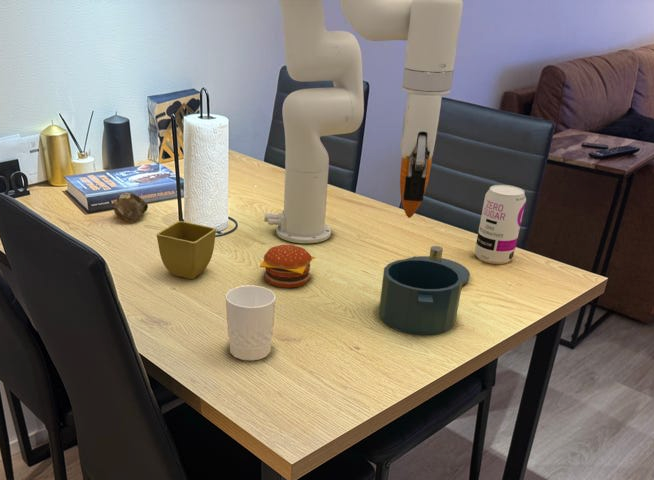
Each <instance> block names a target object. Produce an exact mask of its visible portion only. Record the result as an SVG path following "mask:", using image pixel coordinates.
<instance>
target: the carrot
mask: <svg viewBox="0 0 654 480" xmlns="http://www.w3.org/2000/svg"><path fill="white" fill-rule="evenodd" d="M417 142H418V138H417ZM413 157H416V153H413ZM409 158H410V156H406V158H403V157H402V156H401V161H400V164H401V165H400V173H399V192H400V193H399V194H400V201H401V205H402V208H403V210H404V213H405V215H406V217H407V218H408V219H410V218H411V217H413V216H414V215H415V214H416V212H417V210H418V208H419V207H420V206H421V203H422V201H408V200H404V189H405V181H406V176H408V170H409V161H410V160H409ZM415 162H416V161H413V164H414V163H415ZM432 164H433V157H432V158H430V159H429V160H428V158H427V166H426V175H425V177H426V182H425V189H424V194H425V193H426V190H427V187H428V183H429V179H430V173H431V168H432Z"/></svg>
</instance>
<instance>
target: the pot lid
mask: <svg viewBox="0 0 654 480" xmlns="http://www.w3.org/2000/svg"><path fill="white" fill-rule="evenodd" d="M443 250H444V248H443V247H442V246H438V245H433V246H431V247H430V249H429V255H427V256H426V255H425V256H424V255H421V256H418V257H426V260H433V261H437V262H440V263H444V264H447V265H449V266H451V267H453V268H455V269H456V270H458V271H459V272H460V273H461V274H462V277H463V284H462V286H463V285H465V284H467V283H468V281H469V280H470V277H471V273H470V271H469V269H468V268H467V267H466V266H465V265H463V264H461V263H459V262H457V261H455V260H452V259H448V258H444V257H443V252H444V251H443ZM406 259H413V256H411V257H408V258H406Z"/></svg>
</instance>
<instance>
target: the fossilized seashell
mask: <svg viewBox="0 0 654 480" xmlns="http://www.w3.org/2000/svg"><path fill="white" fill-rule="evenodd" d="M148 208H149V204H147V202H146V201H145V200H144V199H143V198H142V197H140V195H137V194H135V193H132V192H123V193H121V194H119V195H118V197H117V199H116V200H115V201H114V203H113V211H114V214H115V216H116V217H117V218H119V219H121V220H122V221H125V222H136V221H138V220H140V219H141V218H142V216H143V214H144V213H146V212H147V211H148Z"/></svg>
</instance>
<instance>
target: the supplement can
mask: <svg viewBox="0 0 654 480" xmlns="http://www.w3.org/2000/svg"><path fill="white" fill-rule="evenodd" d="M525 193H526V191H525V190H524V189H522V188H520V187H518V186H514V185H509V184H494V185H492V186H490V187H489V189H488V190H487V192H486V193H485V194H484V195H485V196H484V200H483V205H482V211H481V216H480V221H479V226H478V232H477V236H476V242H475V247H474V252H473V253H474V255H475V256H476V258H477V259H478V260H480V261H482V262H483V263H484V262H485V263H487V264H492V265H505V264H507V263H509V262H511V260H513V259H514V256H515V252H516V248H517V242H518V239H519V233H520V229H521V225H522V220H523V216H524V211H525V207H526V203H527V197H526V194H525Z"/></svg>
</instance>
